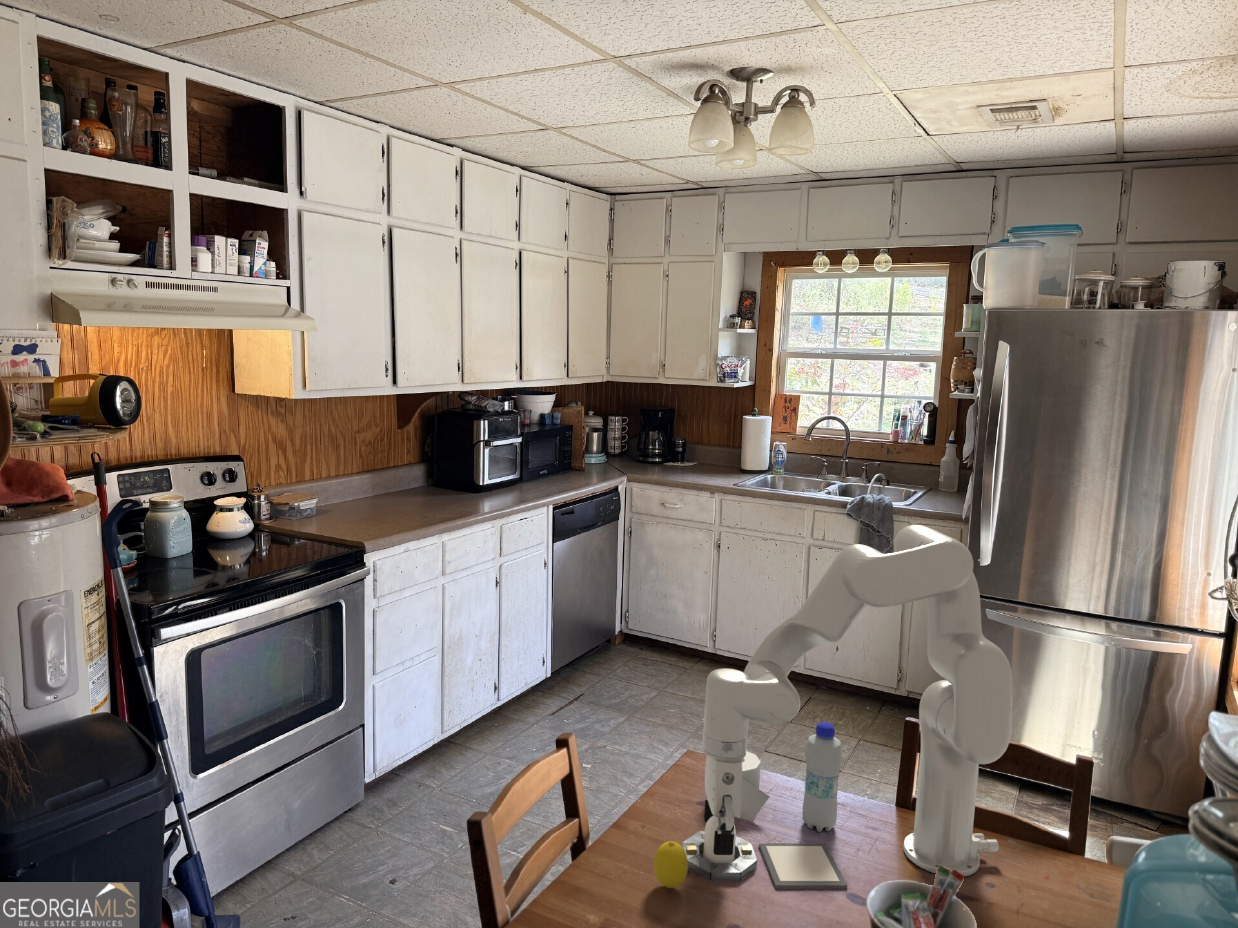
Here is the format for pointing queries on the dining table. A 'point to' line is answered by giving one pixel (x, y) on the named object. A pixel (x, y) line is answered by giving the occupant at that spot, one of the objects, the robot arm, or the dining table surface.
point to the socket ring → (720, 870)
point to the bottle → (822, 778)
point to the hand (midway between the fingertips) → (717, 837)
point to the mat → (802, 866)
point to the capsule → (709, 843)
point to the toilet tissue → (751, 787)
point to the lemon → (670, 864)
